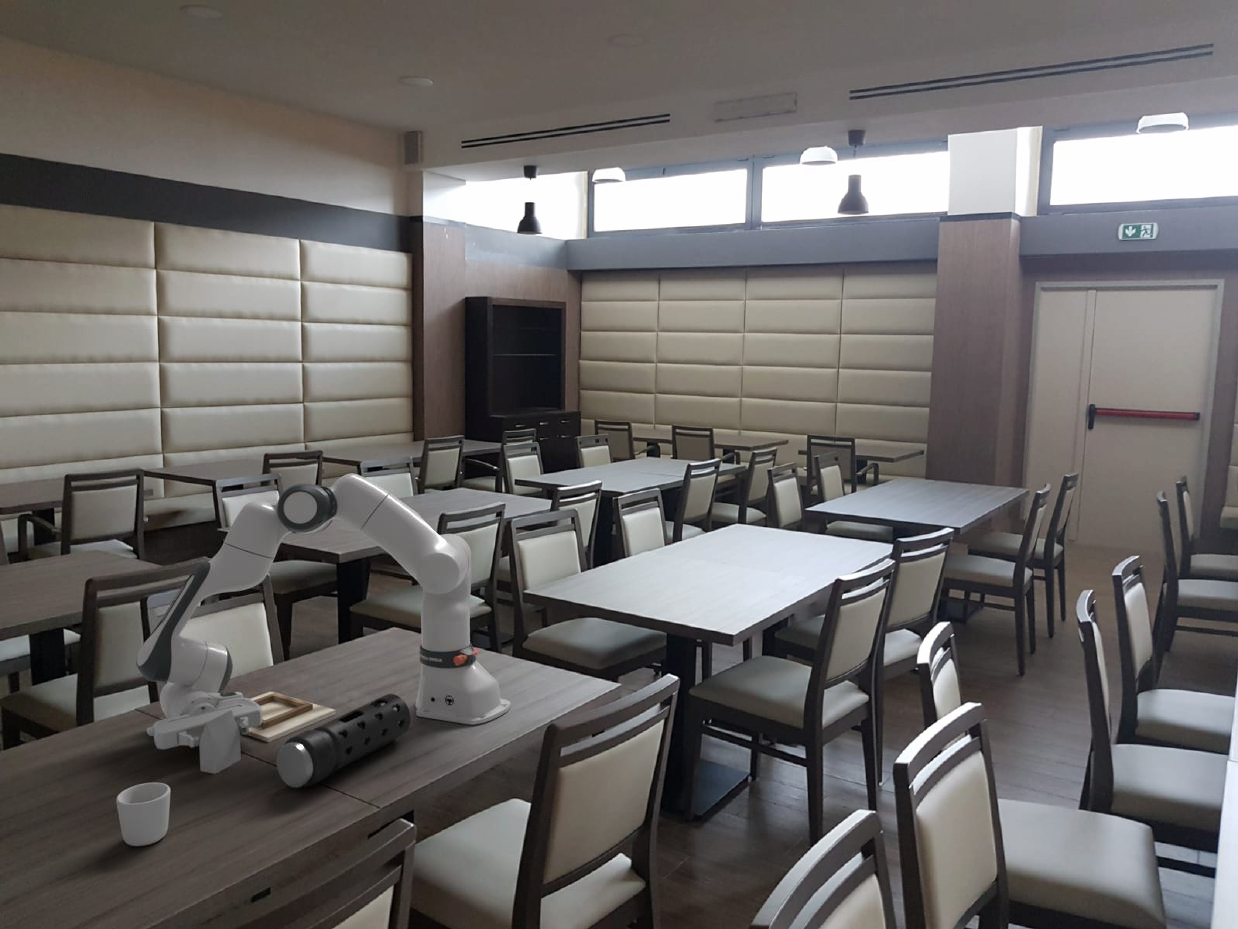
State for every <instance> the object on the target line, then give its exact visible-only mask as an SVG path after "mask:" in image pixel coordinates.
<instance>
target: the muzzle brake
mask: <svg viewBox="0 0 1238 929" xmlns="http://www.w3.org/2000/svg"><path fill="white" fill-rule="evenodd" d="M394 708H396V710H395V709H394ZM410 726H411V713H410V709H409V707H408V705H407V703H406V702H405V701H404V699H403V698H402V697H400V696H399V695H398V694H394V693H387V694H385V695H383V696H381V697H378V698H377V699H373V700H372V701H370V702H368V703H365V704H363V705H361V706H359V707H356V708H355V709H353V710H351V711H349V712H346V713H344V714H342V715H340V716H338V717H335V718H334V719H331V720H329V721H327V722H325V723H323V724H321V725H319V726H317V727H315V728H313V729H307V730H305V731H302V732H300V733H298V734H296V735H295V736H292V737H290V738H288V739H287V740H286V741H285V743H284V744H283V745H282V746H281V747H280V748H279V749H278V751H277V753H276V758H275V759H276V760H275V764H276V765H275V766H276V769H277V772H278V775H279V777H280V778H281V780H282V781H283V782H284V783H285V784H286V785H287V786H288V787H290V788H294V789H297V788H301V787H311V786H312V785H315V784H316V783H319V782H322V781H324V780H326V779H327V778H330V777H332V776H333V775H334V772H337V770H339V769H341V768H343V767H345V766H348V765H349V764H350V763H352V762H357V761H358V760H359V759H360V758H362V757H365V758H366V756H368V755H370V754H371V753H375V752H376V751H377V750H380V749H381V748H383V747H384V746H386V745H389V744H390V743H392V742H394V741H396V739H398V738H399V737H400V736H402V735H404V734H406V733H407V731H408V730H409V728H410Z"/></svg>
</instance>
